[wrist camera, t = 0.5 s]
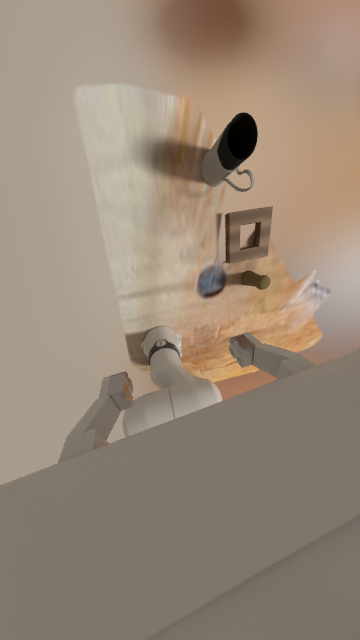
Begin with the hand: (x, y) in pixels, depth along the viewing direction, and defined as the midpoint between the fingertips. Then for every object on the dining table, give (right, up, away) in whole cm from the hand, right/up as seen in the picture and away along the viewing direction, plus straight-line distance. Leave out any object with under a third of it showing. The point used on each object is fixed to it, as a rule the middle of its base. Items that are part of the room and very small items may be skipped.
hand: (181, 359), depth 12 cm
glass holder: (+12, +48, +37) cm, 62 cm away
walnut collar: (+25, +35, +46) cm, 63 cm away
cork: (+29, +21, +54) cm, 65 cm away
